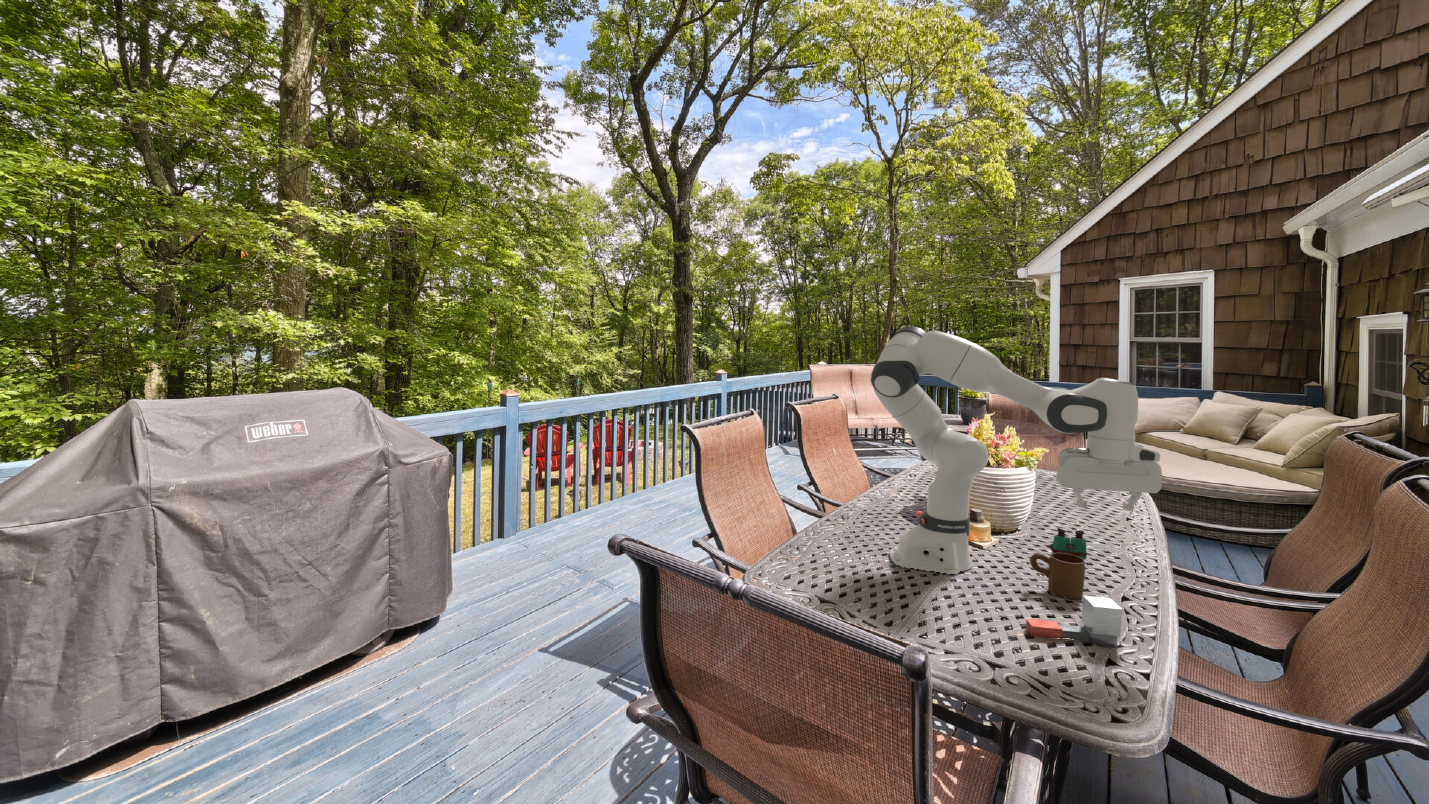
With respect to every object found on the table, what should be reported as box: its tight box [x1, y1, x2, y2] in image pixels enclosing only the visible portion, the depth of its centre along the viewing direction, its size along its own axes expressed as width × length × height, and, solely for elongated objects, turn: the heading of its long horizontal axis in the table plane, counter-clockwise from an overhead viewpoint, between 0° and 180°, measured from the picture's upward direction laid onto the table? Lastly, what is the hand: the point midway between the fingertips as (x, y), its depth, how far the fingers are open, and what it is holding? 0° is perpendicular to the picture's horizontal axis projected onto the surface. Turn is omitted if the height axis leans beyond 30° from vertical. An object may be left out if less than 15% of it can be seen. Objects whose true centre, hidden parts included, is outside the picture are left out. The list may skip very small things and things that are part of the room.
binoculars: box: [1048, 527, 1088, 561], centre depth 159 cm, size 9×11×10 cm
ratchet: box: [1025, 618, 1119, 649], centre depth 118 cm, size 17×6×6 cm, turn 78°
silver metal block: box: [1080, 595, 1123, 637], centre depth 116 cm, size 5×5×6 cm
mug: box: [1029, 553, 1086, 600], centre depth 140 cm, size 12×8×9 cm, turn 55°
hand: (1104, 508), depth 125 cm, fingers open, 8 cm apart
